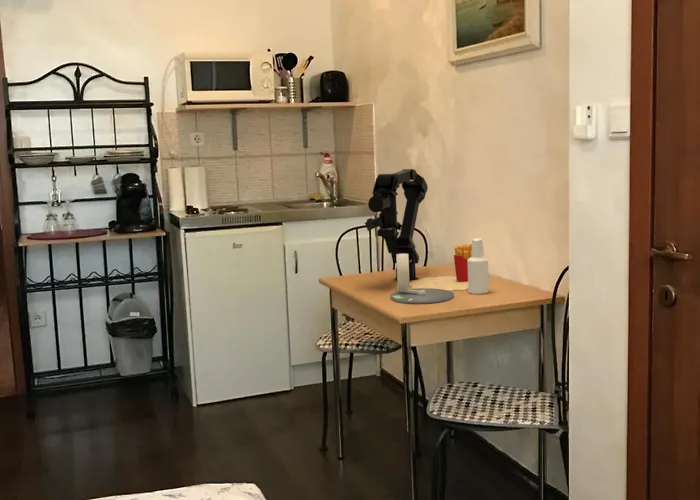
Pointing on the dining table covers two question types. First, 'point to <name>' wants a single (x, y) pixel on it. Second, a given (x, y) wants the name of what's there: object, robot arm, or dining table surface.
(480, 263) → the spray bottle
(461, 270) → the french fries
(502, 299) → the dining table surface
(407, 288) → the tall cream cylinder
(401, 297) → the grey round platter
